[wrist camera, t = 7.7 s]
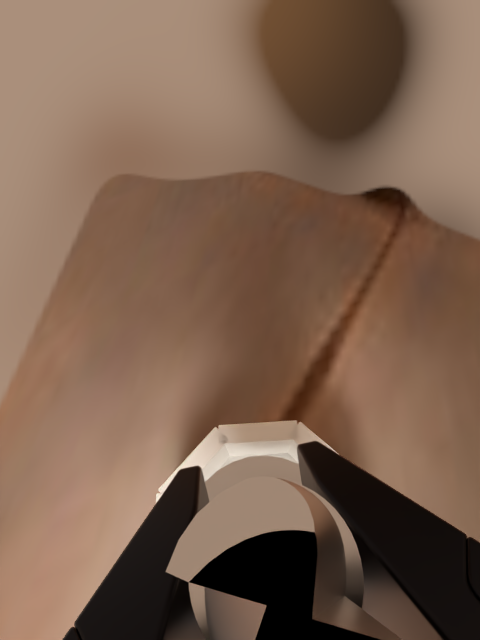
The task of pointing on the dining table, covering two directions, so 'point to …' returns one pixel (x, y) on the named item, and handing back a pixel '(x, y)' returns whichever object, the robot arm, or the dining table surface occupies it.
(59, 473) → the dining table surface
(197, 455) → the white pet bowl
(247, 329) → the dining table surface
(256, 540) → the screw
